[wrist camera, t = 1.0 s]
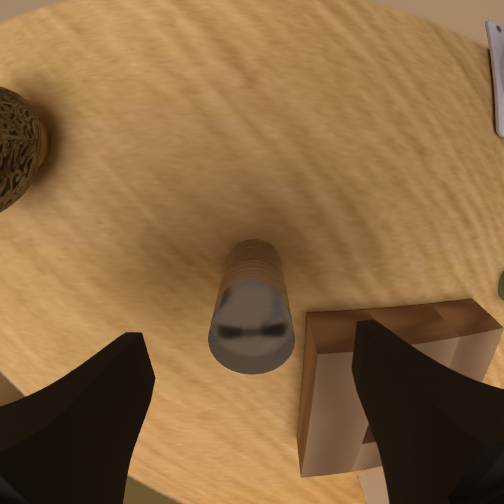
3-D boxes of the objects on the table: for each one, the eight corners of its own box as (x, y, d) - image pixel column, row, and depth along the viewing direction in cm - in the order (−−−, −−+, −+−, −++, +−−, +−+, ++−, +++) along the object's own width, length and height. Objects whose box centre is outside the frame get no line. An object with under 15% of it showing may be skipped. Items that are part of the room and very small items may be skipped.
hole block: (472, 298, 18) (503, 327, 14) (429, 417, 22) (445, 449, 18) (306, 312, 18) (317, 354, 15) (296, 438, 22) (300, 477, 19)
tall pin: (281, 239, 17) (296, 303, 10) (281, 290, 18) (293, 372, 11) (224, 240, 17) (204, 305, 10) (227, 291, 18) (212, 374, 11)
